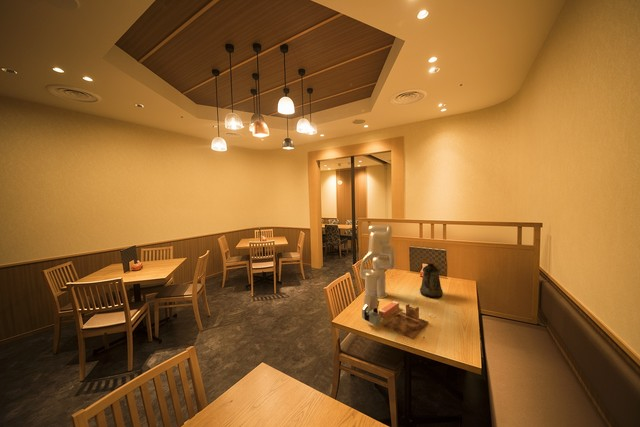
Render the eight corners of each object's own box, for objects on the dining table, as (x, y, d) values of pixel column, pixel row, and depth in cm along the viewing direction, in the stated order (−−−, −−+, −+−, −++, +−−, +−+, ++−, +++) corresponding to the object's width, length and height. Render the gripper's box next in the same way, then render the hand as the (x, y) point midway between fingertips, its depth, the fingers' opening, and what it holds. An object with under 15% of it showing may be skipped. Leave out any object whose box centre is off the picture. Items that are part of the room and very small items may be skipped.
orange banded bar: (378, 317, 146) (378, 310, 146) (393, 307, 160) (393, 300, 159) (383, 319, 143) (383, 312, 143) (398, 308, 157) (398, 302, 156)
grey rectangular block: (362, 317, 146) (361, 309, 145) (366, 315, 148) (366, 307, 148) (376, 326, 136) (375, 317, 135) (380, 323, 138) (380, 314, 138)
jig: (383, 326, 135) (383, 312, 135) (400, 313, 150) (400, 300, 150) (412, 339, 122) (412, 323, 122) (428, 323, 137) (428, 309, 137)
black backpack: (440, 291, 183) (441, 262, 181) (445, 302, 165) (445, 269, 163) (419, 289, 189) (419, 260, 187) (421, 299, 170) (421, 267, 169)
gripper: (373, 286, 149) (373, 310, 150) (358, 293, 138) (358, 320, 139) (383, 289, 144) (383, 314, 145) (368, 297, 132) (368, 325, 133)
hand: (371, 317), depth 142 cm, fingers open, 9 cm apart
